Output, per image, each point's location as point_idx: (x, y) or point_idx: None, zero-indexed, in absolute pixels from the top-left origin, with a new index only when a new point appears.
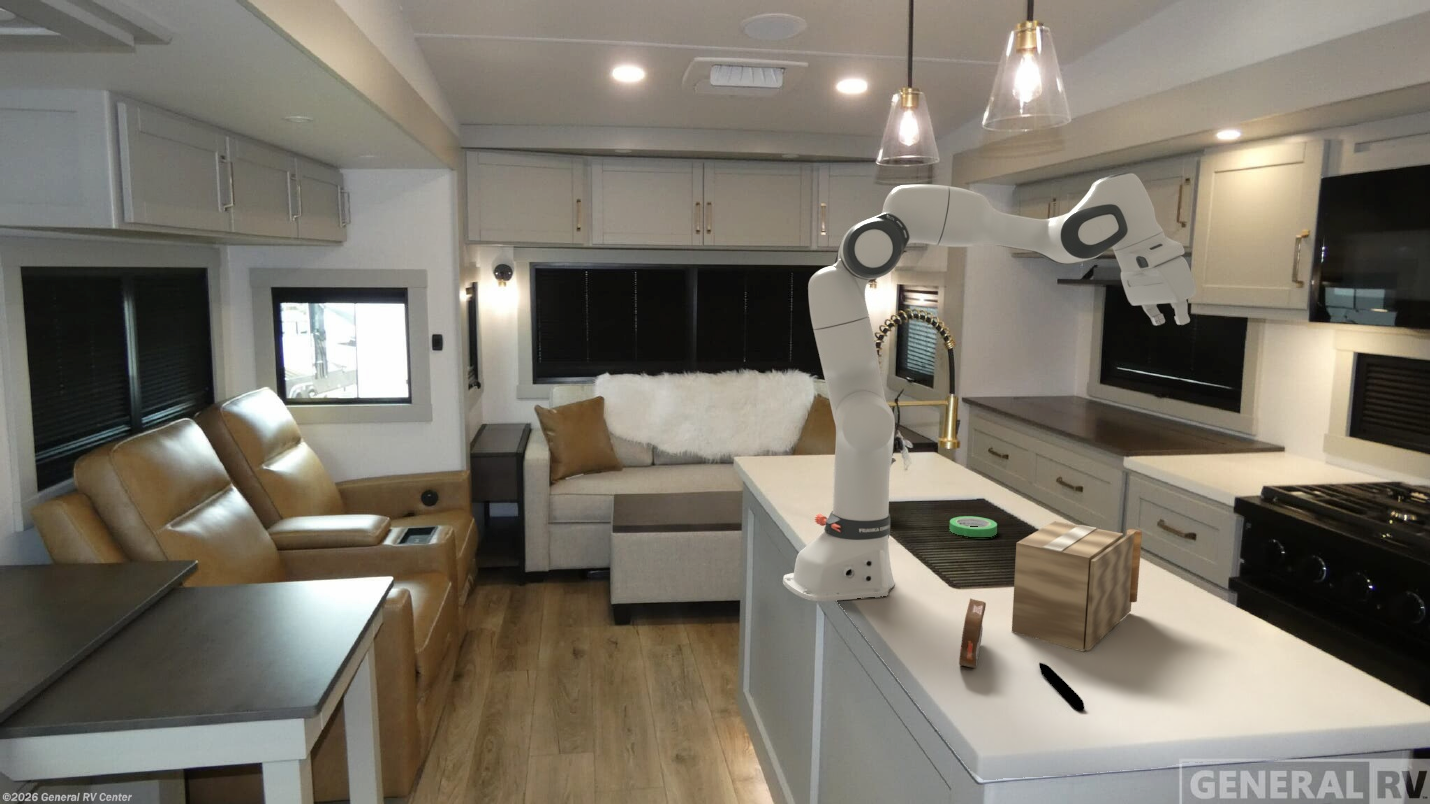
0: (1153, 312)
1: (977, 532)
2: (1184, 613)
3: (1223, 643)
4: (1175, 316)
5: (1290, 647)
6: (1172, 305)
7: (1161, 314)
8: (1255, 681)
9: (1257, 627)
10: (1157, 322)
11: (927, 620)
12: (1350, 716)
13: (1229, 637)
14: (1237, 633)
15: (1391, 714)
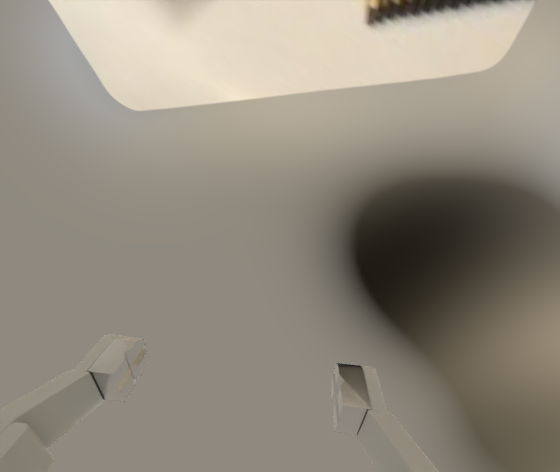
0: (378, 448)
1: None
2: (265, 37)
3: (196, 33)
4: (100, 373)
5: (203, 92)
6: (2, 443)
7: (335, 427)
8: (119, 9)
9: (239, 92)
10: (338, 376)
11: None
12: (91, 53)
13: (212, 49)
14: (223, 64)
15: (111, 85)
